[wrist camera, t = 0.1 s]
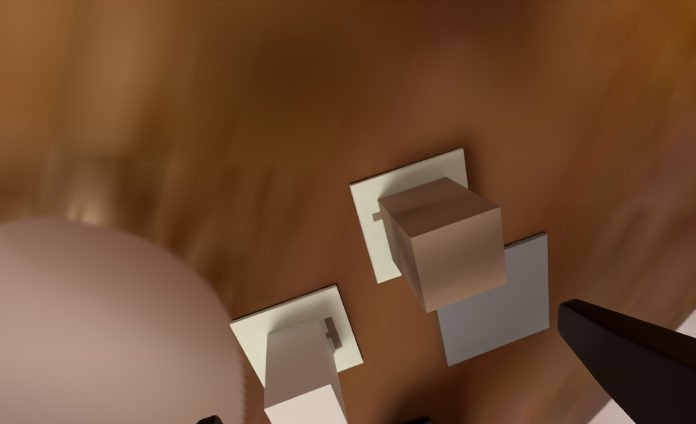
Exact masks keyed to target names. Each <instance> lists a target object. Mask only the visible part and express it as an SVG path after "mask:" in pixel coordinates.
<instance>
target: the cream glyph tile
mask: <svg viewBox="0 0 696 424" xmlns="http://www.w3.org/2000/svg"><path fill="white" fill-rule="evenodd" d="M443 177H448V178H449V179H451V180H453V181H455V182H457V183H458V184H460V185H462V186H464V187H466V188H467V189H468V183H467V175H466V167H465V160H464V152H463V149H462V148H460V149H456V150H453V151H450V152H447V153H444V154H441V155H438V156H435V157H432V158H429V159H426V160H423V161H420V162H417V163H414V164H411V165H408V166H405V167H402V168H399V169H396V170H393V171H390V172H387V173H384V174H381V175H378V176H375V177H372V178H369V179H366V180H363V181H360V182H357V183H354V184H351V185H349V186H350V189H351V193H352V196H353V200H354V203H355V207H356V210H357V214H358V217H359V221H360V224H361V227H362V231H363V234H364V238H365V241H366V245H367V248H368V252H369V255H370V259H371V262H372V266H373V269H374V273H375V276H376V280H377V282H378V283H381V282H384V281H387V280H389V279H392V278H395V277H398V276H400V275H402V274H401V273H400V271H399V270H398V268H397V266H396V265H395V263H394V262H393V260H392V256H391V252H390V248H389V244H388V240H387V236H386V232H385V228H384V224H383V220H382V217H381V213H380V209H379V205H378V201H377V200H378V199H381V198H384V197H387V196H390V195H393V194H396V193H399V192H402V191H405V190H408V189H410V188H413V187H416V186H419V185H422V184H425V183H428V182H431V181H434V180H437V179H440V178H443Z"/></svg>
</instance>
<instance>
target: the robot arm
mask: <svg viewBox="0 0 696 424" xmlns="http://www.w3.org/2000/svg"><path fill="white" fill-rule="evenodd" d="M557 327H558V330H559V333H560V335H561V336H562V337H563V339H564V340H565V341H566V342H567V344H568V345H569V346H570V347H571V349H572V350H573V351H574V353H575V354H576V355H577V356H578V358H579V359H580V360H581V361H582V363H583V364H584V365H585V366H586V368H587V369H588V370H589V371H590V373H591V374H592V375H593V377H594V378H595V379H596V380H597V381H598V383H599V384H600V385H601V386H602V387H603V389H604V390H605V391H606V392H607V393H608V394H609V395H610V396H611V398H612V399H613V400H614V401H615V402H616V403H617V404H618V405H619V406H620V407H621V408H622V409H623V410H624V411H625V413H627V415H628V416H629V417H630V418H631V419H632V420H633V421H634V422H635V423H636V424H696V338H694V337H691V336H688V335H684V334H682V333H679V332H676V331H673V330H670V329H667V328H664V327H661V326H657V325H654V324H651V323H648V322H645V321H642V320H639V319H636V318H633V317H630V316H627V315H624V314H621V313H618V312H615V311H612V310H609V309H606V308H603V307H600V306H597V305H594V304H591V303H588V302H585V301H582V300H578V299H571V300H568V301H565V302H562V303H560V305H559V309H558V323H557ZM197 424H223V423H222V421H221V419H220V417H219V416H217V415H213V416H210V417H207V418H204V419H201V420H200V421H199V422H198V423H197ZM412 424H432V422H431V420H430V418H424V419H422V420H419V421H417V422H414V423H412Z"/></svg>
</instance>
